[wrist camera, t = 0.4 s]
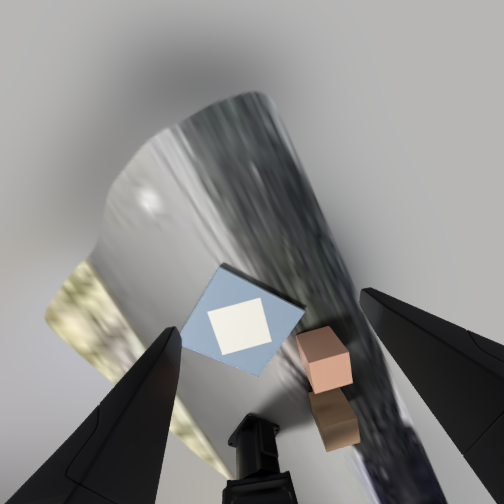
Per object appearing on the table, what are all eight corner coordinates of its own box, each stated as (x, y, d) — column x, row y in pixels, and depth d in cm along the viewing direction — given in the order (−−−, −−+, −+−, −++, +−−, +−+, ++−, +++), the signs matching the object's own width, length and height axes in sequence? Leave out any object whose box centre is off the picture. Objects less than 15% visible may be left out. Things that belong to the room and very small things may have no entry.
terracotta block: (333, 353, 30) (352, 383, 25) (301, 362, 29) (314, 393, 25) (328, 325, 28) (348, 351, 23) (295, 335, 28) (308, 363, 23)
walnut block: (341, 406, 33) (360, 442, 28) (312, 414, 32) (326, 452, 28) (337, 384, 31) (357, 417, 26) (308, 392, 31) (321, 428, 26)
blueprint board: (258, 373, 29) (258, 376, 28) (176, 339, 26) (174, 343, 25) (303, 309, 27) (305, 312, 26) (219, 265, 24) (219, 267, 23)
